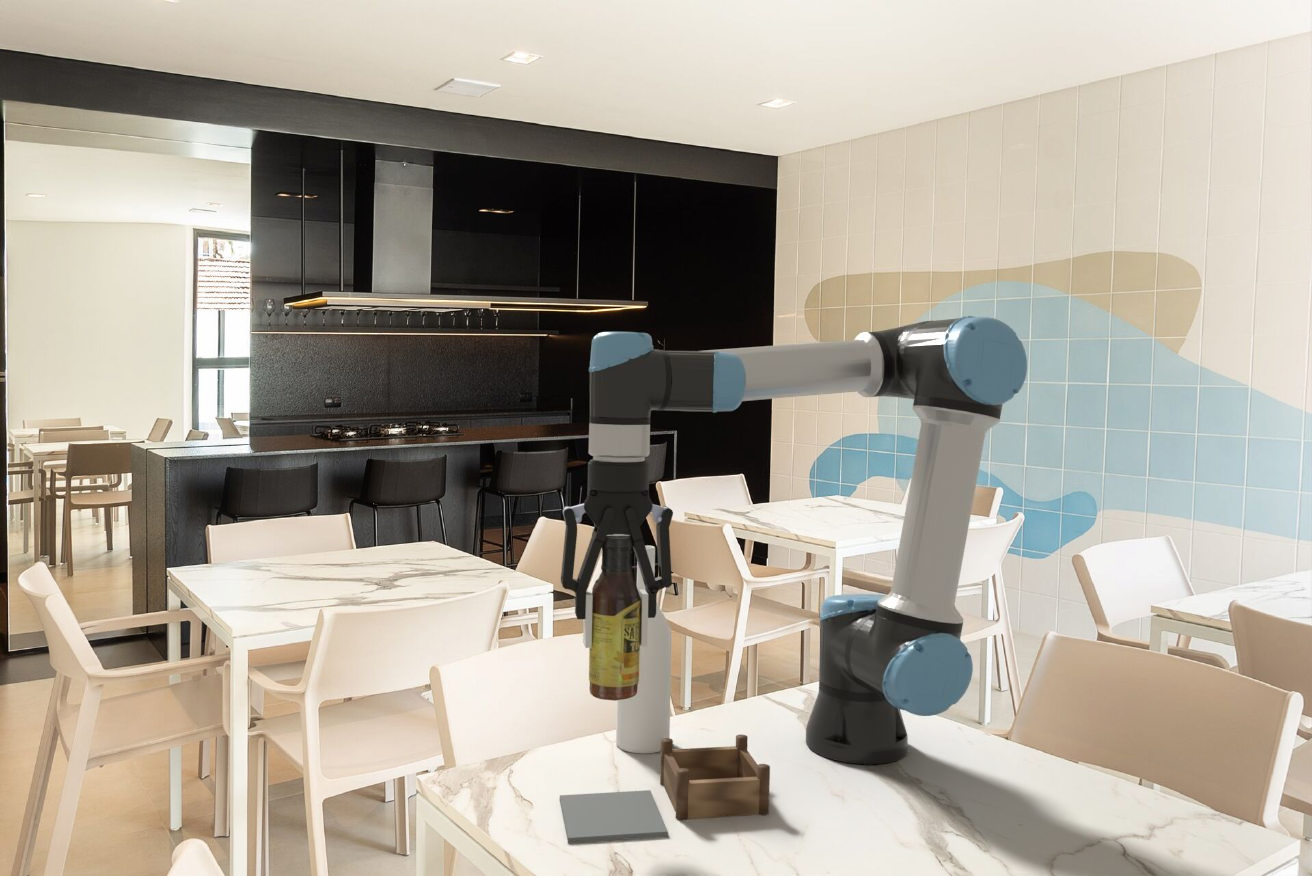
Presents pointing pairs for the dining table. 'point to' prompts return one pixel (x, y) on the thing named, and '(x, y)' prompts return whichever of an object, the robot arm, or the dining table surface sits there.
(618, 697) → the sauce bottle
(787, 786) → the dining table surface
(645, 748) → the bottle
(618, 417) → the robot arm
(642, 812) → the mat
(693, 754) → the corner post wooden tray
